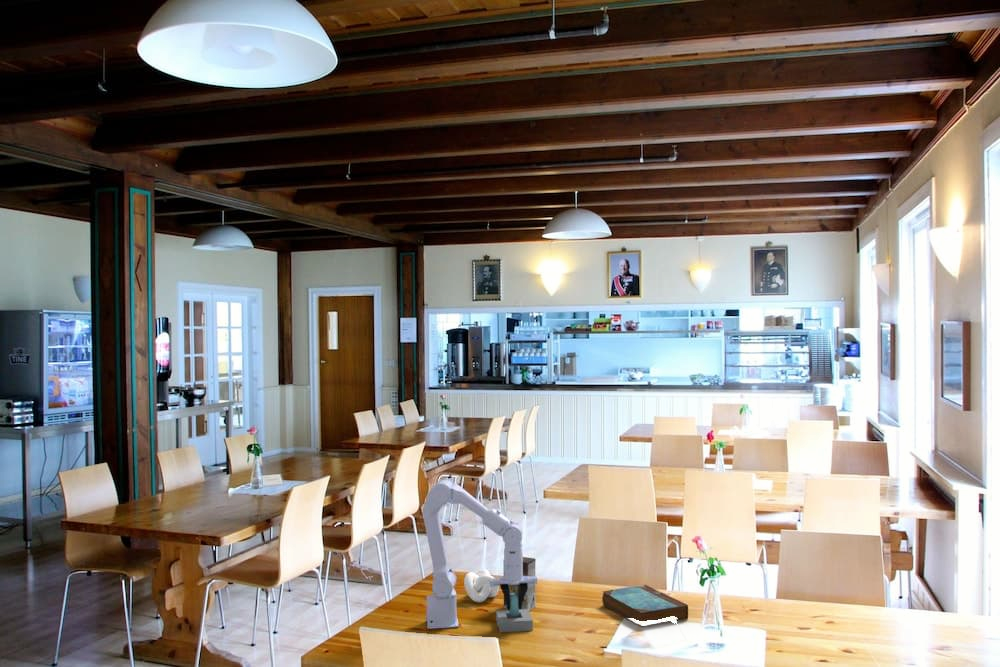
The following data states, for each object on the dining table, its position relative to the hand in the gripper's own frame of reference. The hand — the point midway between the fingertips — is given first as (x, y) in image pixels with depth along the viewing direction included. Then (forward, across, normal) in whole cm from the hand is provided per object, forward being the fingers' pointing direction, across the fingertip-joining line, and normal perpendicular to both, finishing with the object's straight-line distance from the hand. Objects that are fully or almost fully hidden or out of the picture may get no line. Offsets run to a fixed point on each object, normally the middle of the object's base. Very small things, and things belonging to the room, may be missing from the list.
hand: (514, 608), depth 240 cm
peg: (+2, 0, 0) cm, 2 cm away
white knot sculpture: (+5, -8, +28) cm, 29 cm away
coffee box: (+5, +4, +16) cm, 17 cm away
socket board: (+5, 0, 0) cm, 5 cm away
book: (+6, +43, +6) cm, 43 cm away
